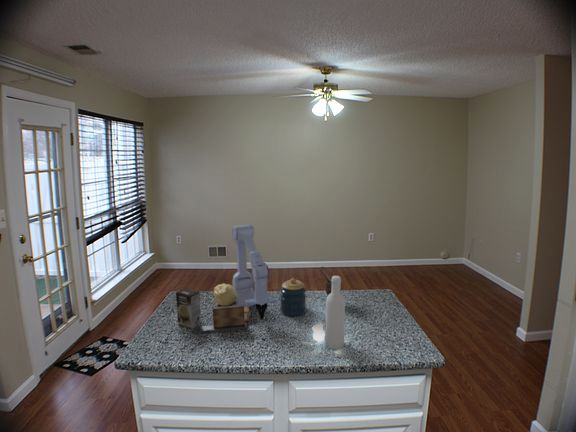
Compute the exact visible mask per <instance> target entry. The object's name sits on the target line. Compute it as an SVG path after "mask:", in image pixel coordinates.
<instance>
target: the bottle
mask: <svg viewBox="0 0 576 432" xmlns="http://www.w3.org/2000/svg"><path fill="white" fill-rule="evenodd" d="M331 278H332V280H331V281H332V291H331V293H330V294H329V295H327V298H326V300H325V333H324V334H325V337H324V341H325V344H324V345H325V347H327V348H328V349H331V350H341V349H342V348H344V346H345V323H346V321H345V319H346V314H345V313H346V300H345V296H344V295H343V294H342V292H341V293H340V289H341V290H342V288H341V281H342V277H341V276H339V275H332V276H331Z"/></svg>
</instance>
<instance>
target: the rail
mask: <svg viewBox="0 0 576 432" xmlns="http://www.w3.org/2000/svg"><path fill="white" fill-rule="evenodd" d="M244 322H245V325H235V326H224V327H213V325H211V324H210V325H202V326H195V327H194V328H192V334H193V335H196V334H206V333H207V334H208V333H218V332H229V331H239V330H247V329H248V323H247V321H244Z"/></svg>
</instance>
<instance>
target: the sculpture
mask: <svg viewBox="0 0 576 432" xmlns="http://www.w3.org/2000/svg"><path fill="white" fill-rule="evenodd" d="M213 298H214V302H215V303H216V304H217V305H219V306H220V307H225V306H232V305H234V304H235V303H236V291H235V290H234V289H233V285H231V284H228V283H225V282H223V283H220V284H217V285H216V286H214V288H213Z"/></svg>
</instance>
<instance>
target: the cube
mask: <svg viewBox="0 0 576 432" xmlns="http://www.w3.org/2000/svg"><path fill="white" fill-rule="evenodd" d="M249 308H250V307H249ZM249 308H248V307H244V322H249V321H250V309H249Z"/></svg>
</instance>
